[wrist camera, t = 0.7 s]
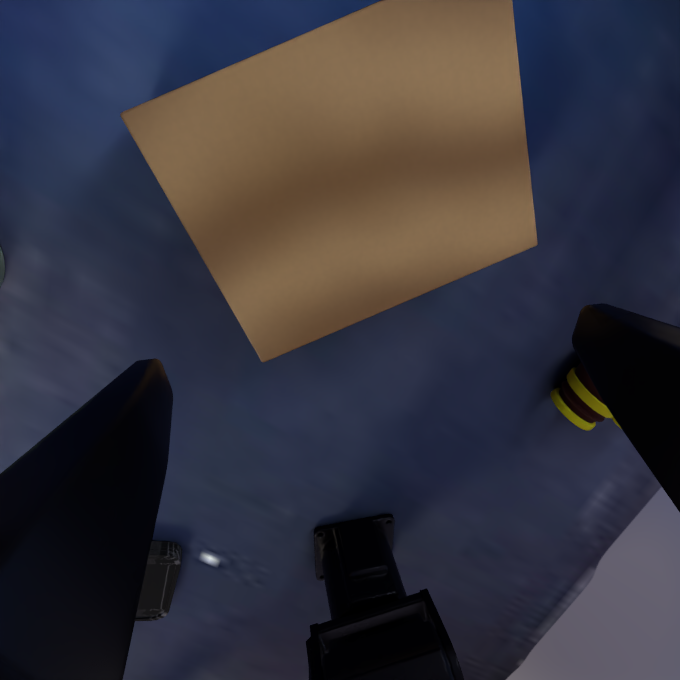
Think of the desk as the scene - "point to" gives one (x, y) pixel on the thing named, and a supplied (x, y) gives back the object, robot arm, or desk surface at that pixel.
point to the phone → (159, 580)
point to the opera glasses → (580, 400)
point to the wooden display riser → (350, 165)
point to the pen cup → (2, 267)
